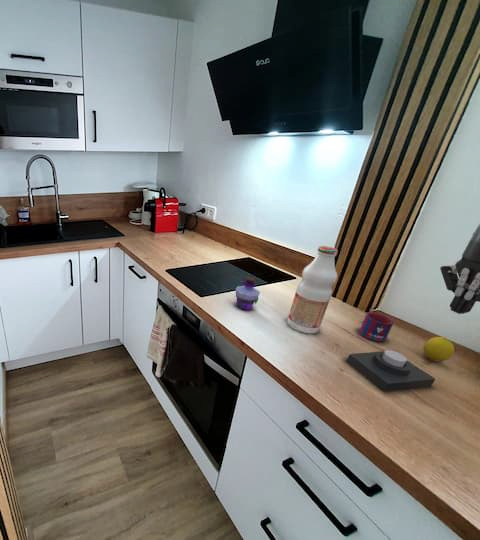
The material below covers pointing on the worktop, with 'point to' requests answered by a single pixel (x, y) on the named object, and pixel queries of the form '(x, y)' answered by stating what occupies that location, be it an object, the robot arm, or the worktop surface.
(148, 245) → the worktop surface
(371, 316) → the mug
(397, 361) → the flush button
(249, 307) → the potion bottle
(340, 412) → the worktop surface
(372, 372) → the flush plate
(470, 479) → the worktop surface
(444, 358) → the lemon
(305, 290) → the fruit juice
